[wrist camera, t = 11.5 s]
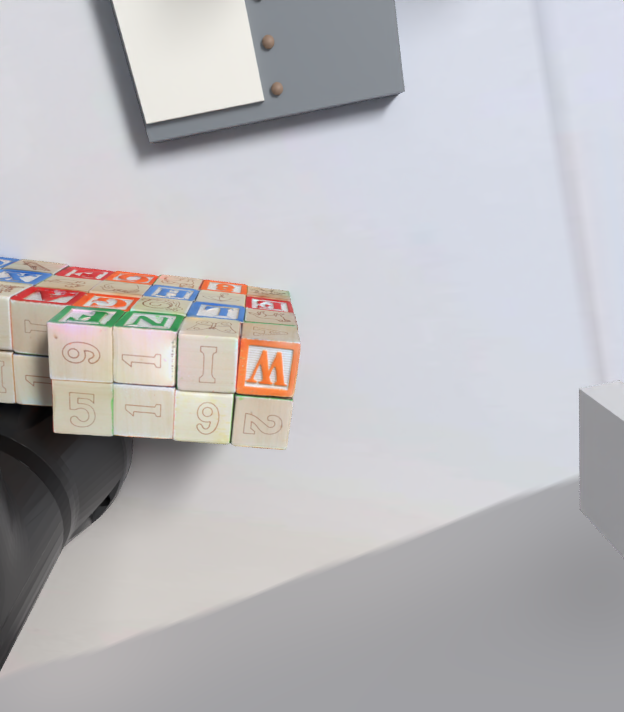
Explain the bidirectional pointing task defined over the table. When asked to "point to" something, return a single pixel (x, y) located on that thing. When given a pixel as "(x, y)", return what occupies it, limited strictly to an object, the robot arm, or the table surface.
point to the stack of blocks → (148, 354)
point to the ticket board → (254, 59)
